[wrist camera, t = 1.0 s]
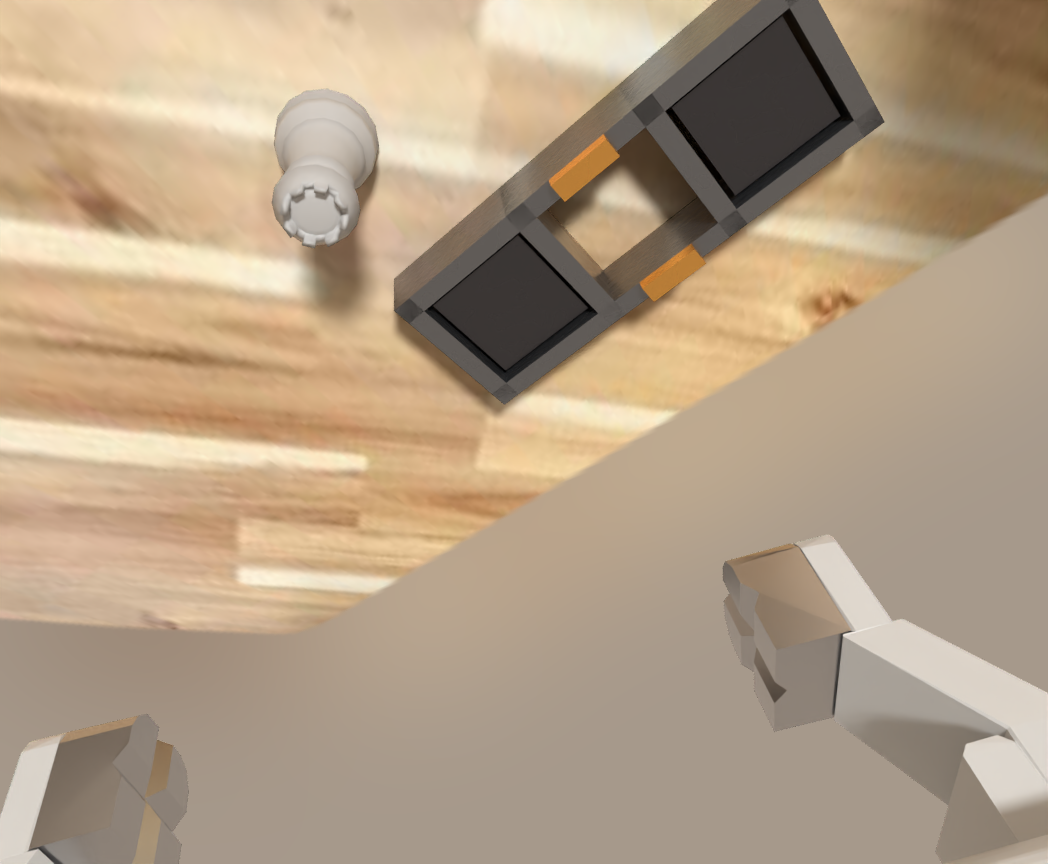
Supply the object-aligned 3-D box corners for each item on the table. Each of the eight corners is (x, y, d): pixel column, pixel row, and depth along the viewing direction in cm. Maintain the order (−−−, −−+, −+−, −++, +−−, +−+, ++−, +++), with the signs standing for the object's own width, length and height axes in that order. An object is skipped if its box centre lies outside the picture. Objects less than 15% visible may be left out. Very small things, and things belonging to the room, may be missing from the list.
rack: (773, -49, 35) (805, -29, 32) (856, 98, 39) (890, 127, 36) (394, 278, 42) (394, 317, 40) (499, 371, 47) (505, 411, 44)
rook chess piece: (261, 156, 38) (234, 241, 32) (298, 65, 35) (277, 137, 29) (354, 200, 39) (347, 288, 33) (395, 115, 37) (395, 193, 31)
